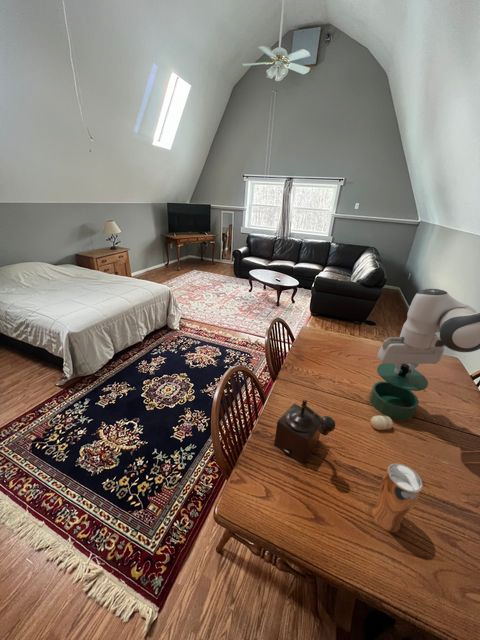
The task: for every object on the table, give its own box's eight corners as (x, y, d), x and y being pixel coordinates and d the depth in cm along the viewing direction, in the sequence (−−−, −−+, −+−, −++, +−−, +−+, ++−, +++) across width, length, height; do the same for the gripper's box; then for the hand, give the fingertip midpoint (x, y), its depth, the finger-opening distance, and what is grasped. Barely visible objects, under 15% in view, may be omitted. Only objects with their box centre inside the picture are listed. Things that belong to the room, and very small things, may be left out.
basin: (397, 392, 106) (401, 381, 104) (422, 420, 93) (428, 408, 90) (362, 392, 105) (365, 381, 102) (382, 421, 91) (387, 409, 89)
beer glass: (364, 516, 63) (381, 474, 57) (377, 497, 68) (394, 456, 61) (394, 543, 59) (416, 500, 52) (407, 521, 63) (428, 479, 57)
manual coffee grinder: (271, 445, 80) (278, 398, 73) (289, 424, 88) (297, 379, 81) (320, 477, 72) (333, 428, 64) (335, 450, 80) (348, 404, 72)
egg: (385, 418, 91) (392, 413, 88) (391, 431, 88) (398, 426, 85) (366, 418, 91) (371, 413, 87) (371, 432, 88) (377, 427, 85)
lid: (407, 364, 101) (411, 353, 99) (438, 392, 87) (444, 379, 85) (368, 364, 100) (371, 353, 97) (392, 392, 86) (397, 379, 83)
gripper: (391, 342, 83) (379, 378, 89) (452, 342, 85) (436, 378, 90) (380, 332, 89) (369, 367, 94) (437, 333, 90) (423, 367, 96)
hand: (402, 372), depth 92 cm, fingers closed on lid, 2 cm apart
